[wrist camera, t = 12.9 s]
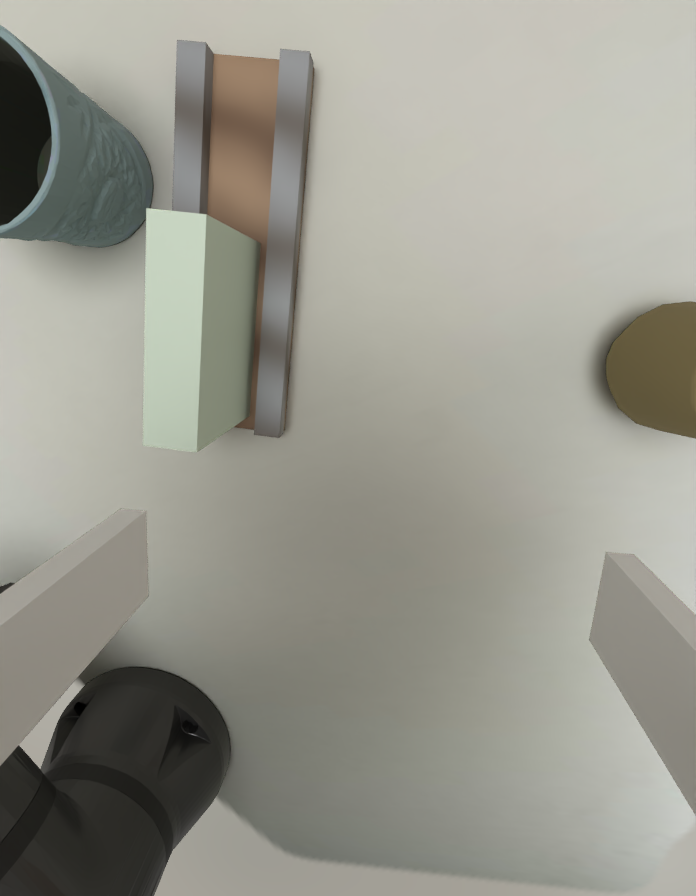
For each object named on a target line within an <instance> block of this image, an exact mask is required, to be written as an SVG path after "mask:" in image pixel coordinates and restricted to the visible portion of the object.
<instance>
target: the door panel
mask: <svg viewBox="0 0 696 896" xmlns="http://www.w3.org/2000/svg"><path fill="white" fill-rule="evenodd" d="M260 249H261V243H259V242H257V241H255V240H253V239H252V238H250V237H248V236H246V235H244V234H242V233H240V232H239V231H237V230H235V229H233V228H231V227H229V226H227V225H225V224H224V223H222V222H220V221H218V220H216V219H214V218H212V217H210V216H209V215H207V214H198V213H189V212H179V211H170V210H160V209H150V208H146V261H145V326H144V390H143V446H149V447H157V448H165V449H173V450H180V451H188V452H196V453H197V452H198V451H200V450H201V449H203V448H204V447H205V446H207V445H208V444H210V443H211V442H213V441H214V440H216V439H217V438H218V437H220V436H221V435H223V434H224V433H226V432H227V431H228V430H230V429H231V428H233V427H234V426H236V425H237V424H239V423H240V422H241V421H243V420H244V419H246V418H247V417H249V416H250V402H251V387H252V372H253V356H254V341H255V326H256V310H257V295H258V280H259V264H260Z"/></svg>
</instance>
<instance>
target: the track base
mask: <svg viewBox="0 0 696 896" xmlns="http://www.w3.org/2000/svg"><path fill="white" fill-rule="evenodd" d="M313 77H314V68H313V60H312V57H311V54H310V51H299V50H287V49H280V60H277V59H265V58H254V57H243V56H231V55H220V54H213V52H212V51H211V49H210V48H209V46H208V45H207V43H206V42H195V41H184V40H177V59H176V96H175V133H174V171H173V208H172V211H179V212H189V213H198V214H207V215H209V216H210V217H212V218H214V219H216V220H218V221H220V222H222V223H224V224H225V225H227V226H229V227H231V228H233V229H235V230H237V231H239V232H240V233H242V234H244V235H246V236H248V237H250V238H252V239H253V240H255V241H257V242H259V243H261V249H260V264H259V280H258V295H257V310H256V326H255V341H254V356H253V372H252V387H251V402H250V416H249V417H247V418H246V419H244V420H243V421H241V422H240V423H239V424H237V425H236V426H234V427H238V428H245V429H253V430H254V435H261V436H269V437H277V438H279V437H280V436H281V435H282V434H283V431H284V430H285V418H286V406H287V394H288V381H289V369H290V357H291V345H292V333H293V320H294V308H295V296H296V284H297V272H298V260H299V247H300V235H301V223H302V211H303V199H304V186H305V174H306V162H307V150H308V138H309V125H310V113H311V101H312V89H313Z"/></svg>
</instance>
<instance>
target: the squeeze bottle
mask: <svg viewBox="0 0 696 896" xmlns="http://www.w3.org/2000/svg"><path fill="white" fill-rule="evenodd" d="M606 378H607V382H608V385H609V388H610V390H611V393H612V395H613V397H614V399H615V402H616V404H617V406H618V408H619V409H620V410H621V411H622V412H624V413H625V414H626V415H627V416H628V417H629V418H631V419H632V420H633V421H634V422H635V423H637V424H640V425H643V426H647V427H650V428H653V429H657V430H660V431H664V432H669V433H673V434H678V435H682V436H687V437H692V438H696V302H682V303H672V304H663V305H661V306H659V307H657V308H655V309H653V310H651V311H649V312H647V313H645V314H643V315H641V316H639V317H638V318H637V319H636V320H635V321H634V322H632V323H631V324H630V325H629V326H628V327H627V328H626V329H625V330H624V331H623V333H622V334H621V335H620V336H619V337H618V338H617V339H616V340H615V341H614V342H613V344H612V346H611V348H610V351H609V353H608V356H607V358H606Z"/></svg>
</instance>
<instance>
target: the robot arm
mask: <svg viewBox="0 0 696 896" xmlns="http://www.w3.org/2000/svg"><path fill="white" fill-rule="evenodd" d="M148 596H149V590H148V556H147V523H146V511H142V510H131V509H120V510H118V511H117V512H115V513H114V514H112V515H111V516H110V517H108V518H107V519H105V520H104V521H103V522H101V523H100V524H98V525H97V526H96V527H94V528H93V529H91V530H90V531H88V532H87V533H86V534H84V535H83V536H81V537H80V538H79V539H77V540H76V541H74V542H73V543H71V544H70V545H69V546H67V547H66V548H64V549H63V550H62V551H60V552H59V553H57V554H56V555H55V556H53V557H52V558H50V559H49V560H47V561H46V562H45V563H43V564H42V565H40V566H39V567H38V568H36V569H35V570H33V571H32V572H30V573H29V574H28V575H26V576H25V577H23V578H22V579H21V580H19V581H18V582H16V583H9V584H6V585H4V586H1V587H0V896H154V894H155V892H156V889H157V887H158V884H159V882H160V879H161V876H162V874H163V871H164V869H165V867H166V864H167V862H168V860H169V857H170V855H171V853H172V851H173V849H174V848H175V847H176V846H177V845H178V843H179V842H180V841H181V840H182V838H183V837H184V836H185V835H186V834H187V833H188V831H189V830H190V829H191V828H192V826H193V825H194V824H195V823H196V822H197V821H198V819H199V818H200V817H201V816H202V815H203V813H204V812H205V811H206V810H207V809H208V807H209V806H210V805H211V804H212V802H213V800H214V799H215V797H216V795H217V794H218V792H219V789H220V787H221V784H222V782H223V779H224V776H225V774H226V771H227V768H228V765H229V760H230V741H229V736H228V732H227V729H226V726H225V724H224V721H223V719H222V717H221V716H220V714H219V712H218V711H217V709H216V708H215V707H214V705H213V704H212V703H211V702H210V701H209V700H208V699H207V697H205V696H204V695H203V694H202V693H201V692H200V691H199V690H197V689H196V688H195V687H193V686H192V685H190V684H189V683H187V682H186V681H184V680H182V679H180V678H178V677H176V676H174V675H171V674H168V673H165V672H162V671H158V670H154V669H148V668H123V669H117V670H113V671H110V672H107V673H104V674H102V675H100V676H98V677H96V678H94V679H93V680H91V681H90V682H89V683H87V684H86V685H85V686H84V687H83V688H82V689H81V690H80V691H79V693H78V694H77V695H76V696H75V698H74V699H73V700H72V701H71V702H70V704H69V705H68V706H67V707H66V709H65V710H64V712H63V713H62V715H61V717H60V719H59V721H58V723H57V726H56V728H55V731H54V733H53V736H52V739H51V742H50V744H49V747H48V750H47V753H46V756H45V758H44V761H43V764H42V766H41V769H39V767H38V766H37V765H36V764H35V763H34V762H33V761H32V760H31V758H30V757H29V756H28V755H27V754H26V753H25V752H24V751H23V749H22V748H21V747H20V746H19V744H20V743H21V742H22V740H23V739H24V738H25V737H26V736H27V735H28V734H29V732H30V731H31V730H32V729H33V728H34V727H35V726H36V724H37V723H38V722H39V721H40V720H41V719H42V718H43V716H44V715H45V714H46V713H47V712H48V711H49V710H50V708H51V707H52V706H53V705H54V704H55V703H56V702H57V700H58V699H59V698H60V697H61V696H62V695H63V694H64V692H65V691H66V690H67V689H68V688H69V686H70V685H71V684H72V683H73V682H74V681H75V680H76V679H77V677H78V676H79V675H80V674H81V673H82V672H83V671H84V669H85V668H86V667H87V666H88V665H89V664H90V663H91V661H92V660H93V659H94V658H95V657H96V656H97V655H98V653H99V652H100V651H101V650H102V649H103V648H104V647H105V645H106V644H107V643H108V642H109V641H110V640H111V639H112V637H113V636H114V635H115V634H116V633H117V632H118V631H119V629H120V628H121V627H122V626H123V625H124V624H125V622H126V621H127V620H128V619H129V618H130V617H131V616H132V614H133V613H134V612H135V611H136V610H137V609H138V608H139V606H140V605H141V604H142V603H143V602H144V601H145V600H146V598H147V597H148ZM589 640H590V642H591V644H592V645H593V647H594V649H595V650H596V652H597V654H598V655H599V657H600V659H601V660H602V662H603V664H604V665H605V667H606V668H607V670H608V672H609V673H610V675H611V677H612V678H613V680H614V682H615V683H616V685H617V687H618V688H619V690H620V692H621V693H622V695H623V697H624V698H625V700H626V701H627V703H628V705H629V706H630V708H631V710H632V711H633V713H634V715H635V716H636V718H637V720H638V721H639V723H640V725H641V726H642V728H643V729H644V731H645V733H646V734H647V736H648V738H649V739H650V741H651V743H652V744H653V746H654V748H655V749H656V751H657V753H658V754H659V756H660V758H661V759H662V761H663V762H664V764H665V766H666V767H667V769H668V771H669V772H670V774H671V776H672V777H673V779H674V781H675V782H676V784H677V786H678V787H679V789H680V790H681V792H682V794H683V795H684V797H685V799H686V800H687V802H688V804H689V805H690V807H691V809H692V810H693V812H694V814H695V815H696V615H695V614H694V613H693V612H692V611H691V610H690V609H689V608H688V607H687V606H686V605H685V604H684V603H683V602H682V601H681V600H680V599H679V598H678V597H677V596H676V595H675V594H674V593H673V592H672V591H671V590H670V589H669V588H668V587H667V586H666V585H665V584H664V583H663V582H662V581H661V580H660V579H659V578H658V577H657V576H656V575H655V574H654V573H653V572H652V571H651V570H650V569H649V568H648V567H647V566H645V565H644V564H643V563H642V562H641V561H640V560H639V559H638V558H637V557H636V556H635V555H634V554H623V553H611V552H606V555H605V560H604V565H603V570H602V575H601V581H600V586H599V591H598V596H597V601H596V607H595V612H594V617H593V622H592V627H591V633H590V638H589Z"/></svg>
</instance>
